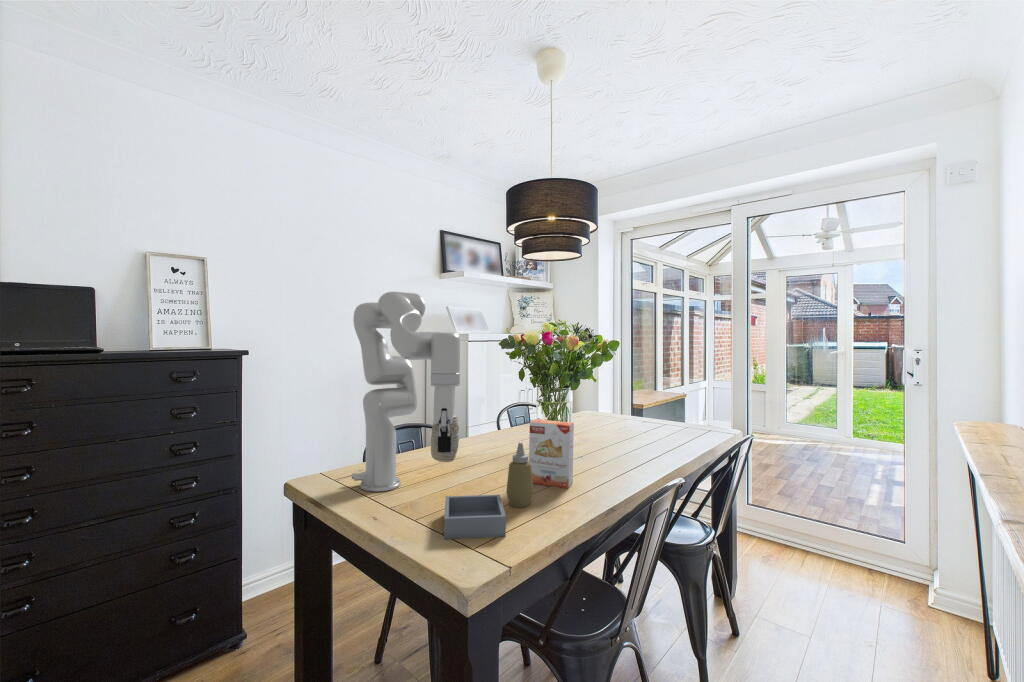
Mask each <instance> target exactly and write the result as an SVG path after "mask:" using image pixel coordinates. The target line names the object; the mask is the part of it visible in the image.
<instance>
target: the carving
mask: <svg viewBox="0 0 1024 682" xmlns="http://www.w3.org/2000/svg"><path fill="white" fill-rule="evenodd" d="M433 419H434V417H433ZM446 424H448V421H446ZM447 428H448V427H447ZM447 432H448V431H447ZM438 436H439V422H438V424H436V425H434V424H433V423H432V427H431V438H430V454H431V458H432V459H434V461H437V462H440V463H450V462H451V463H452V462H453V461H454V460H455V458H456V457H457V452H458V449H459V441H460V425H459V418H458V416H457V414H455V413H454V417H453V423H452V424H451V425H450V436H451V451H450V452H438Z"/></svg>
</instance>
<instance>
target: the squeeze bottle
mask: <svg viewBox="0 0 1024 682" xmlns="http://www.w3.org/2000/svg"><path fill="white" fill-rule="evenodd" d="M517 443H518V444H517V449H516V453H515V454H512V461H511V462H510V463H509V464H508V466H509V467H508V474H507V482H506V496H507V499H508V502H509V503H508V504H509V505H510V506H512V507H516V508H526V507H528V506H530V505H531V501H532V499H533V495H534V483H533V481H532V469H531V464H530V463H529V454H526V453H525V450H524V444H523V442H517Z"/></svg>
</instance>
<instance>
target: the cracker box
mask: <svg viewBox="0 0 1024 682" xmlns="http://www.w3.org/2000/svg"><path fill="white" fill-rule="evenodd" d="M574 425H575V423H574V422H570V421H560V420H559V421H558V420H550V419H549V420H548V419H537V418H535V419H532V420H531V421H530V422H529V437H528V438H529V440H528V441H529V443H528V444H529V445H528V447H529V449H528V452H529V453H528V462H529V463H530V464H531V469H532V481H533V484H538V485H543V486H551V487H555V488H556V487H557V488H562V489H570V487H571V486H572V484H573V481H574V479H573V478H574V477H573V475H574V432H575V431H574V429H575V427H574Z"/></svg>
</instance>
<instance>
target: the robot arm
mask: <svg viewBox="0 0 1024 682" xmlns="http://www.w3.org/2000/svg"><path fill="white" fill-rule="evenodd" d="M425 312H426V303H425V300H424V298H423V297H422V296H421V295H419V294H418V293H416V292H404V291H403V292H402V291H388V292H385V293H383V294H382V295H381V296H379V299H378V301H377V302H374V301H373V302H372V301H371V302H362V303H360V304H359V305H357V306H356V308H355V309H354V312H353V327H354V330H355V333H356V336H357V340H358V341H359V344H360V349H361V357H362V358H361V359H362V365H363V375H364V380H365V382H367V384H368V385H371V386H385V385H386V386H388V385H396V387H385V388H384V387H383V388H375V389H372V390H369V391H368V392H366V393H365V395H364V396H363V399H362V407H363V413H364V419H365V421H364V422H365V471H362V472H353V473H352V472H351V473H352V474H351V480H353V481H354V482H358V481H361V482H360V489H361V490H363V491H366V492H386V491H391V490H394V489H397V488H398V487H399V486H400V485H401V481H402V480H401V479H400V478H399V477H397V473H396V472H397V430H396V427H395V425H394V424H393V423H392V422H391V420H390V418H394V417H395V418H396V417H403V416H404V417H405V416H409V415H412V414H413V413H415V412H416V409H417V407H418V396H417V389H416V382H415V376H414V375H415V373H414V368H413V365H412V362H411V361H419V360H422V361H423V360H426V361H427V360H430V386H431V387H434V392H433V418H434V419H433V421H432V425H433V424H434V425H436V424H438V422H439V436H438V452H450V451H451V436H450V425H451V424H452V423H453V417H454V414H455V409H456V408H455V406H456V405H455V404H456V387H460V384H461V383H460V382H461V377H460V376H461V373H460V371H461V338H460V335H459V334H458V333H455V332H438V331H435V332H434V331H418V330H419V328H420V327H421V325H422V320H423V319H422V318H423V317H424V315H425ZM377 329H390V342H391V345H392V347H393V349H394V350H396V352H397V353H398V354H399V355H395V356H394V355H390V353H389V347H388V343H387V340H386V338H384V336H383V334H382V333H380V332H379V331H378V330H377ZM446 421H448V424H446ZM447 427H448V428H447ZM447 431H448V432H447Z"/></svg>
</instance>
